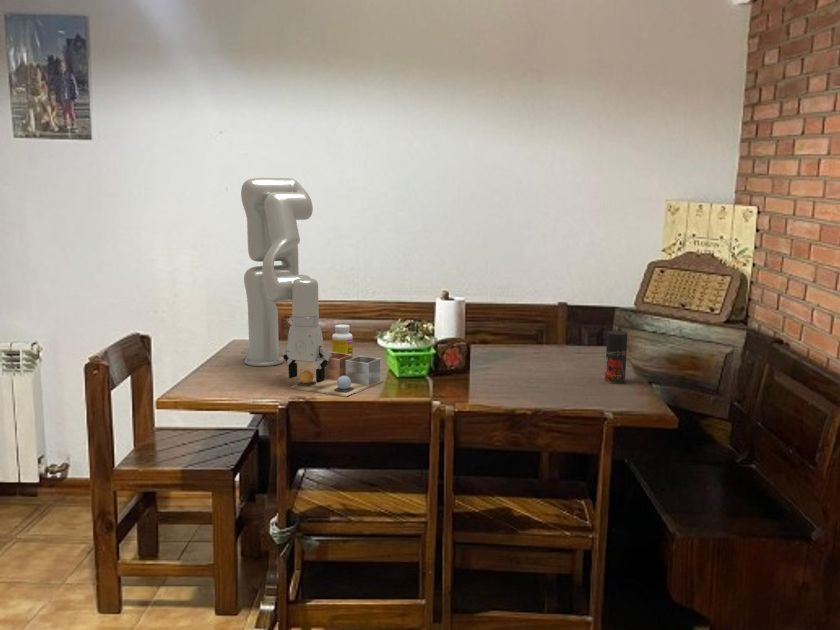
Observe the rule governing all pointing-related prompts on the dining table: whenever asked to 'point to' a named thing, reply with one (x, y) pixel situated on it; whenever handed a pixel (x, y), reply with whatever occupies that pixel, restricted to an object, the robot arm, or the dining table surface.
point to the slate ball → (344, 382)
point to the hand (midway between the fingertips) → (306, 379)
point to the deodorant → (616, 357)
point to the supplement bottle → (342, 340)
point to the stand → (357, 369)
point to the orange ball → (306, 377)
